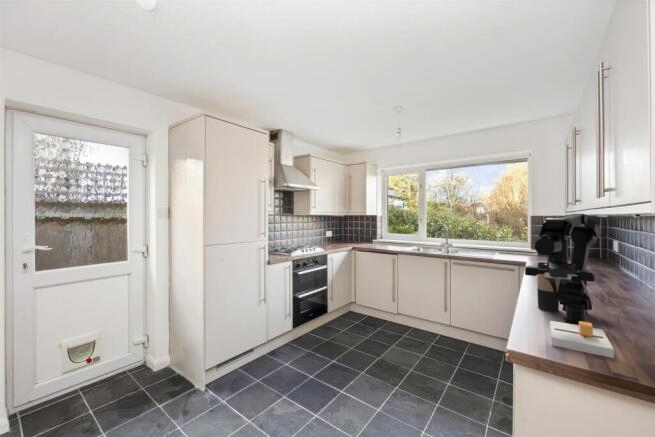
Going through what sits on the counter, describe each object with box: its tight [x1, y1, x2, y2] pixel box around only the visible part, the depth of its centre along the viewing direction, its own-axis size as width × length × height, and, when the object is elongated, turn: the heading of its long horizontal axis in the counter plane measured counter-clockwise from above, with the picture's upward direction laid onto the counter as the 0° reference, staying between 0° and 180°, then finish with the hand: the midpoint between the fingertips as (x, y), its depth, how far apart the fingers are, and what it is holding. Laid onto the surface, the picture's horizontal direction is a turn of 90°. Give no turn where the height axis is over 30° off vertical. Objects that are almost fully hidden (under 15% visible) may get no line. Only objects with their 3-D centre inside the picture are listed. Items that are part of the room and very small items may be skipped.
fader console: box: [549, 320, 615, 359], centre depth 93 cm, size 18×14×3 cm
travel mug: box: [536, 261, 560, 313], centre depth 125 cm, size 8×8×20 cm
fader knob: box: [579, 321, 594, 337], centre depth 92 cm, size 4×3×3 cm
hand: (557, 297), depth 101 cm, fingers closed
